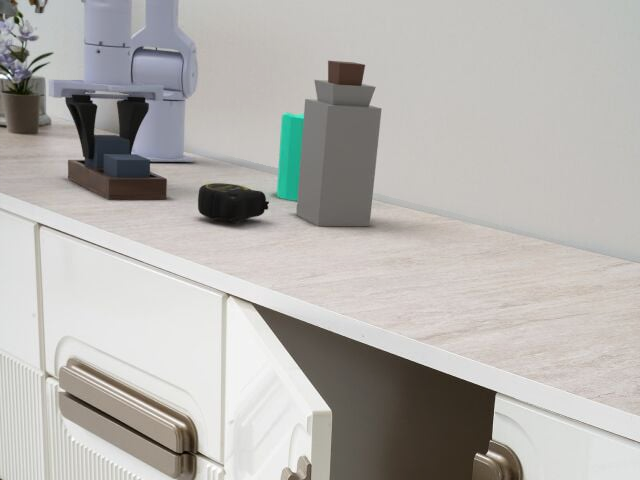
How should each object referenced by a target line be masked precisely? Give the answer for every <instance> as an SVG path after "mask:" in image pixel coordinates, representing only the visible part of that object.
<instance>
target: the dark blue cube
mask: <svg viewBox="0 0 640 480" xmlns="http://www.w3.org/2000/svg"><path fill="white" fill-rule="evenodd" d="M150 172H151V162H150V160H149V159H147V158H144V157H142V156H139V155H137V154H104V174H106V175H108V176H110V177H112V178H150Z"/></svg>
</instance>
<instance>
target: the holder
mask: <svg viewBox="0 0 640 480" xmlns="http://www.w3.org/2000/svg"><path fill="white" fill-rule="evenodd" d="M67 179H68V180H69V181H70V182H73V183H75V184H77V185H79V186H81V187H82V188H84V189H87V190H88V191H91V192H92V193H95V194H97V195H99V196H101V197H103V198H105V199H106V200H109V201H111V200H114V201H115V200H122V201H123V200H167V197H168V196H167V194H168V193H167V192H168V191H167V189H168V178H166V177H164V176H161V175H159V174H157V173H155V172H153V171H150V178H112V177H110V176H108V175H106V174H104V168H91V167H88V166H86V165H85V159H67Z"/></svg>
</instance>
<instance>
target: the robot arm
mask: <svg viewBox="0 0 640 480" xmlns="http://www.w3.org/2000/svg"><path fill="white" fill-rule="evenodd" d="M80 2H81V3H83V4H84V5H83V7H84V8H83V34H84V35H83V57H84V58H83V79H48V97H52V98H54V99H55V98H56V99H57V98H58V99H61V98H65V99H64V100H65V105H66V107H67V109H68V111H69V113H70V116H71V117H72V120H73V122H74V126H75V128H76V131H77V135H78V137H79V142H80V146H81V152H82V157H83V158H84V159H85V158H87V159H93V157H94V135H95V128H96V120H97V119H96V118H97V111H98V105H97V104H96V103H94V102H93V101H94V100H92V99H101V100H117V101H116V106H117V107H116V108H117V115H118V116H117V117H118V128H119V129H118V131H119V133H118V134H119V135H118V136H120V137H123V138H125V139H128V140H130V153H129V154H137V155H139V156H142V157H144V158H147V159H149V160H150V163H151V162H152V163H153V162H155V163H156V162H158V163H159V162H161V163H163V162H164V163H167V162H168V163H173V162H174V163H193V162H194V161H195V160H194V158H193V157H190V156H188V155H184V153H185V152H184V151H185V128H186V127H185V125H186V100H188V99H189V98H191V97H192V96H193V95H194V94H195V92H196V89H197V87H198V77H199V66H198V59H197V58H198V57H197V46H196V43H195V42H194V40H193V39H192V38H191V37H190V36H189V35H188V34H186V33H185V32H184V31H183V30H182V29H181V28H180V27H179V0H145V15H144V16H145V21H144V23H145V25H144V27H142V28H140V29H139V30H138V31H137V32H135V33H134V34H133V35H132V19H133V18H132V17H133V15H132V14H133V13H132V12H133V9H132V8H133V6H132V5H133V0H80ZM147 47H148V48H147ZM152 48H156V49H152ZM162 49H166V50H162ZM173 50H174V51H173ZM96 92H106V93H96ZM107 92H108V94H107ZM109 93H110V94H109ZM111 93H112V94H111ZM113 93H119V94H113Z"/></svg>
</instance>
